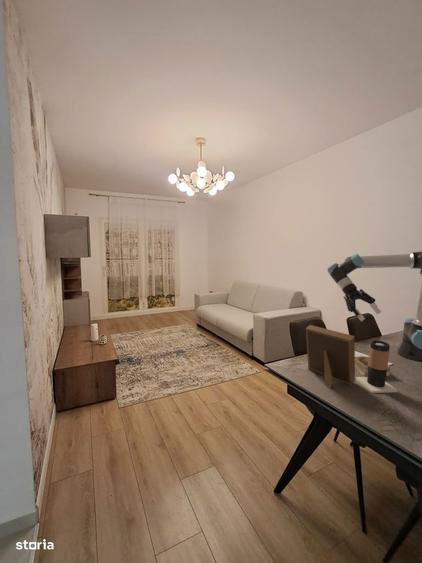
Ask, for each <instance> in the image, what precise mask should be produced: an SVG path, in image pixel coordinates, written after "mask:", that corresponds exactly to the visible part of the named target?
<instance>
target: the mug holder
mask: <svg viewBox="0 0 422 563" xmlns="http://www.w3.org/2000/svg"><path fill="white" fill-rule="evenodd" d="M368 362H369V355H364V356H362V355H360V356H359V355H358V356H357V355H355V371H357V372H359V373H360V374H361V375H363V377H367V375H368ZM390 373H391V366H389V365H388V368H387V374H386V377H390Z"/></svg>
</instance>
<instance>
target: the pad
mask: <svg viewBox="0 0 422 563" xmlns="http://www.w3.org/2000/svg"><path fill="white" fill-rule="evenodd" d="M355 381H357V382H358V383H360V385H362V386H364V387H365V388H366V389H367V390H368V391H369V392H371V393H372V394H377V393H379V394H381V393H382V394H383V393H398V389H396V388H395V386H392V385H391V384H390V383H389V382H387V381H385V386H384V387H375V386H372V385H370V384H369V383H368V382H367V376H355Z"/></svg>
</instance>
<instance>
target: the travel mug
mask: <svg viewBox="0 0 422 563" xmlns="http://www.w3.org/2000/svg"><path fill="white" fill-rule="evenodd" d="M390 346H391V345H390V344H389V343H387V342H385V341H381V340H373V341H370V346H369V355H368V356H369V362H368V365H367V366H368V375H367V376H366V377H367V382H368V383H369V384H370V385H372V386H375V387H384V386H385V382H387V380H386V379H387V376H386V374H387V368H388V366H389V357H390V356H389V355H390Z"/></svg>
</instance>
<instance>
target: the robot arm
mask: <svg viewBox="0 0 422 563" xmlns="http://www.w3.org/2000/svg"><path fill="white" fill-rule="evenodd" d="M372 268H373V269H376V268H377V269H381V268H410V269H418V270H419V269H420V271H419V274H420V275H421V277H422V250H420V251H414V252H413V251H412V252H410V253H407V254H406V253H405V254H404V253H403V254H384V255H360V254H358V253H355V254H352V255H351V256H348V257H346V258H345V260H344V261H342V262H341V263H338V262H337V263H333V264H331V265H330V266H328V267H327V273H328V274H329V275H330V277H331V278H332V279H333V281H334V282H335V283H336V284H337V285H338V286H337V287H339V288H340V289H341V291H342V293H343V294H344V295H343V299H344V301H345V304H346V307H347V310H348V312H350V313H353V314H354V315H355V317H357V318H358V320H359V321H360V322H363V321H364V320H365V319H366V318H365V316H363V314H362V313H361V312H360V310H359V309H358V308H357V306H356V301H357V300H361V301H363V302H365V303H367V304H369V306H370V308H371V309H372V310H373V311H374V313H375V314H376V315H379V314H381V313H382V311H381V309H380V308H379V307H378V305H377V304H376V303H375V302H376V299H375V298H374V297H372V296H371V295H369V293H367V292H365V290H363V289H362V288H361V289H359V290H358V289H357V288H358V287H357V285H355V283H354V282H353V280H351V278H350V277H349V276H348V275H349V274H350V273H352V272H354V271H355V270H357V269H372ZM418 298H419V299H418V305H417V310H416V315H415V318H413V317H412V318H411V317H410V318H405V319H404V322H403V324H404V325H403V332H402V341H401V343H400V345H399V347H398V348H397V354H398V355H399V356H400V357H403V358H405V359H409V360H412V361H418V362H419V361H420V362H422V285H421V287H420V294H419V297H418Z"/></svg>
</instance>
